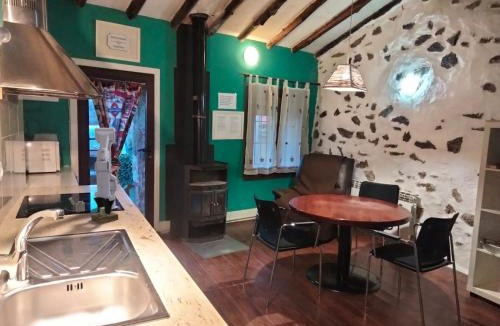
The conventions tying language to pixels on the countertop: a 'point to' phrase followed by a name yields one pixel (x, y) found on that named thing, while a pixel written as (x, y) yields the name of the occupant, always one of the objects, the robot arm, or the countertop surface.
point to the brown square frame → (104, 217)
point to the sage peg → (102, 212)
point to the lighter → (78, 205)
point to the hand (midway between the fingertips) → (104, 212)
